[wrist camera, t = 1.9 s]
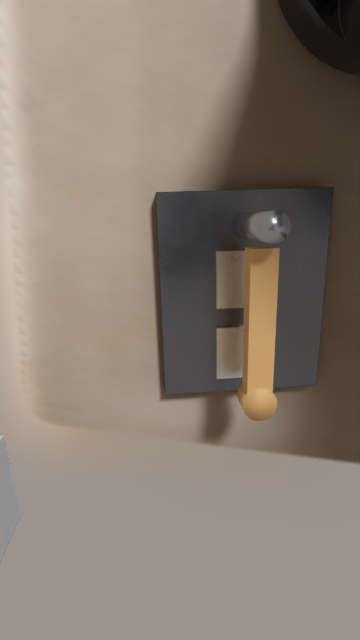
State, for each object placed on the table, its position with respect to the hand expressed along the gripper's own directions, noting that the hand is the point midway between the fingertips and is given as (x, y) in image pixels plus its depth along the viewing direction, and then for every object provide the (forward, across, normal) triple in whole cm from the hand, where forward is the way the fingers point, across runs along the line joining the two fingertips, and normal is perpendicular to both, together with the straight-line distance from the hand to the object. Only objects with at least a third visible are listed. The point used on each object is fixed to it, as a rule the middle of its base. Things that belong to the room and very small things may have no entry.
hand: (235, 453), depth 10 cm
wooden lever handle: (+14, +5, -1) cm, 15 cm away
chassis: (+19, +5, 0) cm, 19 cm away
